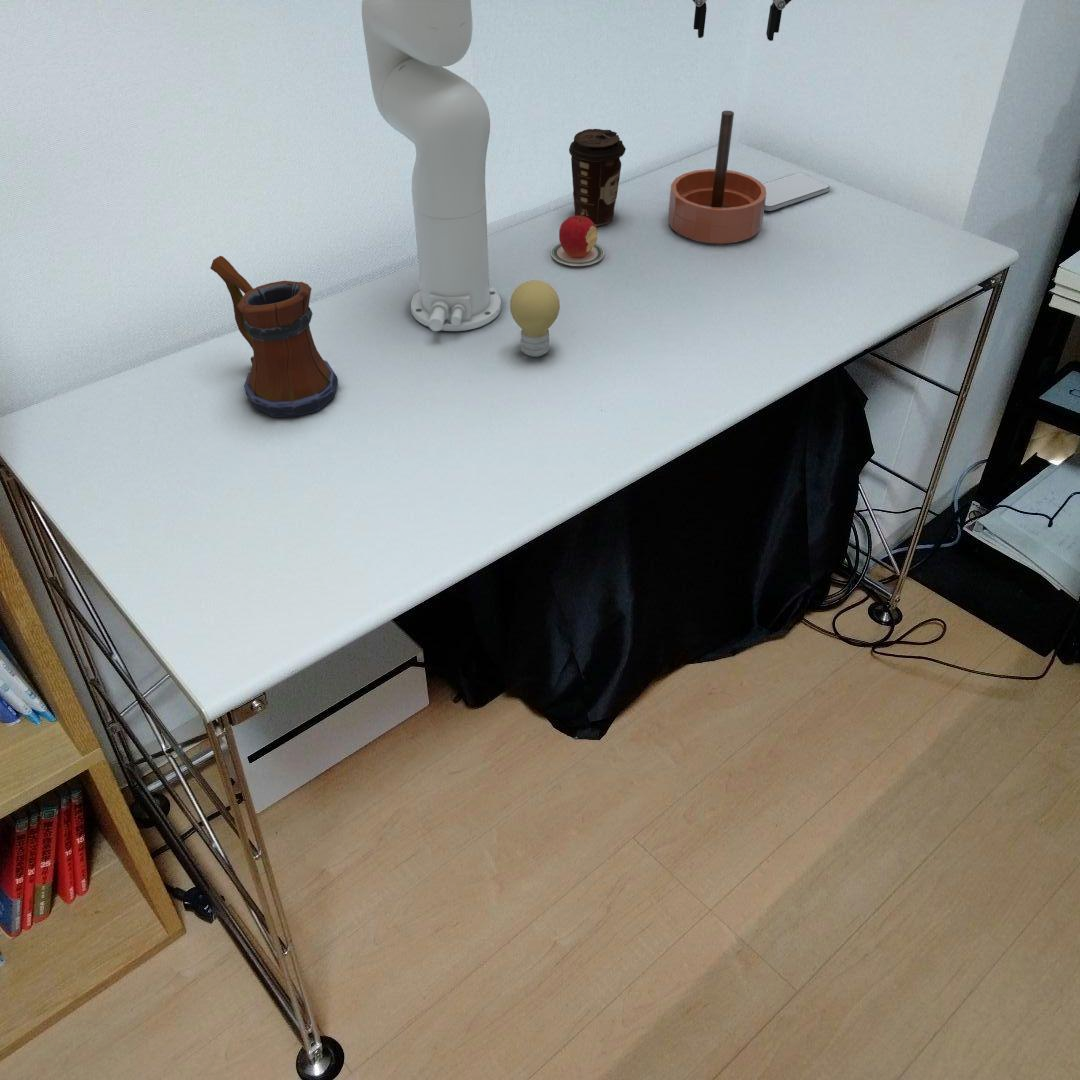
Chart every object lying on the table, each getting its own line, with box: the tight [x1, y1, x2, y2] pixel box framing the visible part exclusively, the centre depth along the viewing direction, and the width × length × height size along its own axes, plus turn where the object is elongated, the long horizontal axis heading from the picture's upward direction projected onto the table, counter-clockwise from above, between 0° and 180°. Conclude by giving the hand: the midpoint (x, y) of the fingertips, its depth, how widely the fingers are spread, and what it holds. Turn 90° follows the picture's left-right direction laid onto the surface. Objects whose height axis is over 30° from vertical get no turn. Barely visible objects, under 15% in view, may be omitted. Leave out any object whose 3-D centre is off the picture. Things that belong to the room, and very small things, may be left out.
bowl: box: [667, 168, 766, 245], centre depth 162 cm, size 15×15×6 cm
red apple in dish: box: [550, 212, 605, 267], centre depth 155 cm, size 8×8×6 cm
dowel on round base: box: [702, 110, 735, 208], centre depth 158 cm, size 6×6×17 cm
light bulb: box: [509, 279, 561, 358], centre depth 134 cm, size 6×6×10 cm
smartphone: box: [762, 172, 830, 212], centre depth 172 cm, size 7×1×15 cm
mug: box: [210, 255, 339, 418], centre depth 127 cm, size 18×12×15 cm, turn 45°
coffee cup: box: [568, 128, 627, 227], centre depth 162 cm, size 9×8×13 cm
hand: (734, 36), depth 145 cm, fingers open, 9 cm apart
